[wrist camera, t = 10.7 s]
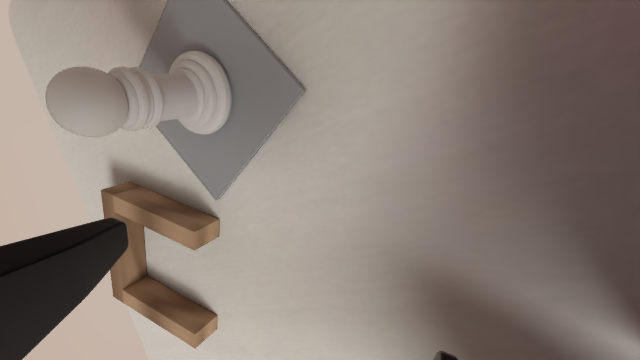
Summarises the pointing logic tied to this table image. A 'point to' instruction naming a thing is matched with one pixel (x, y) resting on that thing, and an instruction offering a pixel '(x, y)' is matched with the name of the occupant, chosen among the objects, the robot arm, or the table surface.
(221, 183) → the slate pad
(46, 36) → the table surface
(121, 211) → the wooden u-shaped pawn holder
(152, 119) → the chess piece
